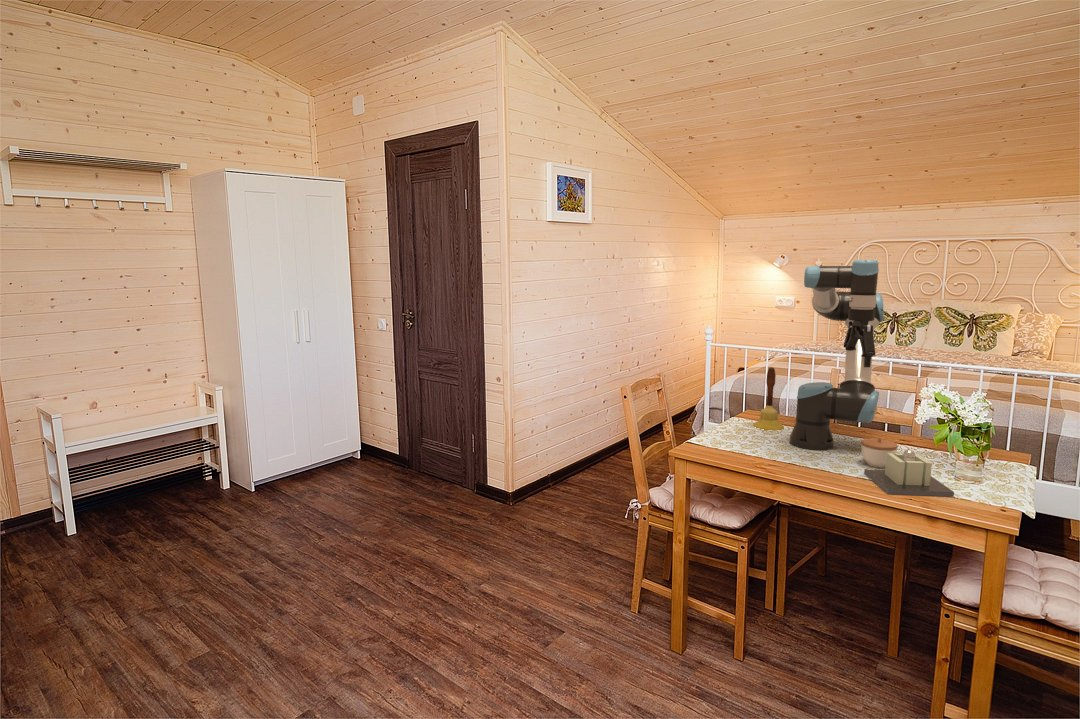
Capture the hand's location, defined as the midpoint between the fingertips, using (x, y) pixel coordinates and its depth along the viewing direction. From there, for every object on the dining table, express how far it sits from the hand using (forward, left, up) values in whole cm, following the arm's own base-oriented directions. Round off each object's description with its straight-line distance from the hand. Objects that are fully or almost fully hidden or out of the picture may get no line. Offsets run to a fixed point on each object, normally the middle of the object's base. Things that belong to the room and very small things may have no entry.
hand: (856, 373), depth 201 cm
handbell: (-49, -15, -32) cm, 60 cm away
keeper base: (+16, +11, -32) cm, 37 cm away
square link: (+16, +11, -30) cm, 36 cm away
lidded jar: (-3, +10, -32) cm, 34 cm away
